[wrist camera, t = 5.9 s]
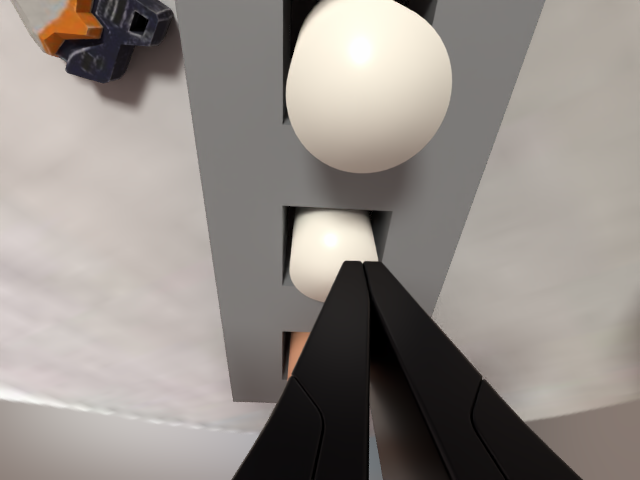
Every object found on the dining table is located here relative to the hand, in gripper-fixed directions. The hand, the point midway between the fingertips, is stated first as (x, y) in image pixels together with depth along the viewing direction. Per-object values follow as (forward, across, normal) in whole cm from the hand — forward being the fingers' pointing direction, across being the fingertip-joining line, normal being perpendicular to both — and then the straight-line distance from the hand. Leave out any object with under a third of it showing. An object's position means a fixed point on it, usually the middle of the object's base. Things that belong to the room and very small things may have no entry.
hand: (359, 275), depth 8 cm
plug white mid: (+11, 0, +5) cm, 12 cm away
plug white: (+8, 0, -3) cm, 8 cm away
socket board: (+11, 0, +5) cm, 12 cm away
